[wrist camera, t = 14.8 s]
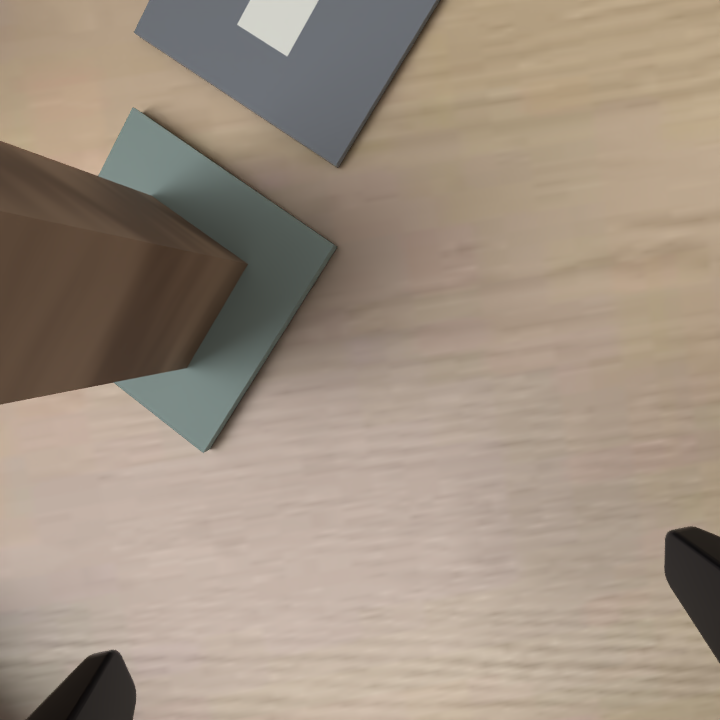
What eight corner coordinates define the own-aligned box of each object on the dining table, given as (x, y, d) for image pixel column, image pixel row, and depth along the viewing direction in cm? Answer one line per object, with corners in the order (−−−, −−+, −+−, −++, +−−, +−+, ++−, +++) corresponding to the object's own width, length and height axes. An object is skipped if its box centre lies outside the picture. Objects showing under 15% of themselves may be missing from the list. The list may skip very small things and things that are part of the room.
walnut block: (248, 264, 19) (-89, 192, 8) (186, 368, 20) (-191, 441, 9) (151, 195, 20) (-293, 34, 8) (96, 299, 21) (-368, 283, 9)
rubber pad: (337, 246, 19) (333, 245, 19) (209, 449, 21) (202, 452, 21) (140, 111, 20) (133, 107, 20) (37, 315, 22) (28, 315, 22)
